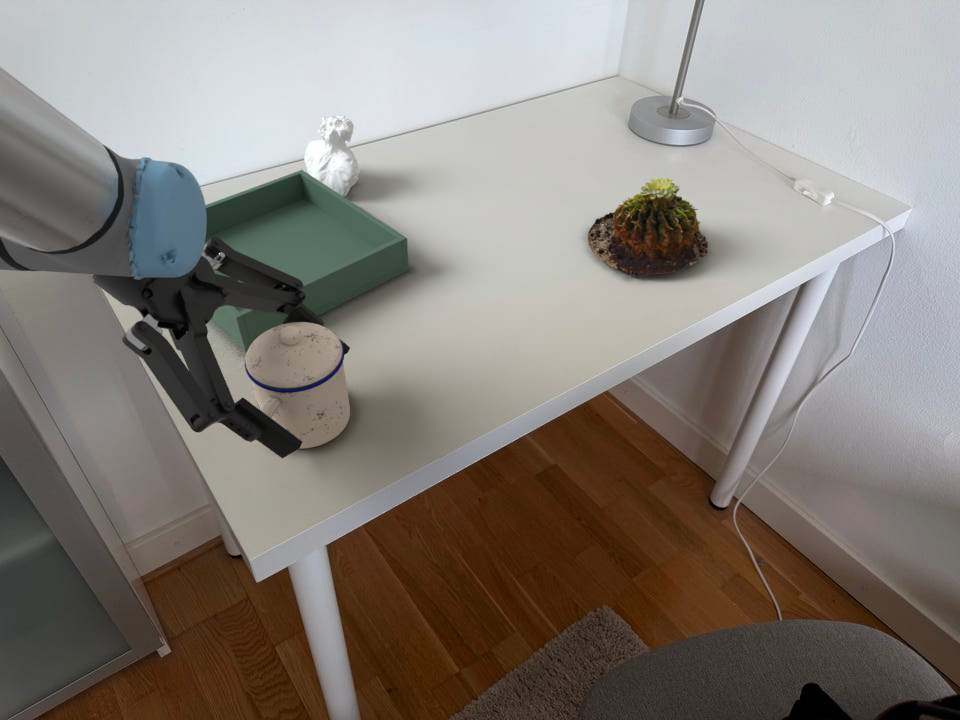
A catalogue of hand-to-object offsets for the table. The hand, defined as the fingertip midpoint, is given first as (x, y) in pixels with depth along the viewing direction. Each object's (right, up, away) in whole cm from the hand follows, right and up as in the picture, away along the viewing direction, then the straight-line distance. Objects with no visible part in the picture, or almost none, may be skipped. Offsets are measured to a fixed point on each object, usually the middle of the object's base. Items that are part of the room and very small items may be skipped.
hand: (318, 399), depth 66 cm
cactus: (+38, +20, +30) cm, 52 cm away
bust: (-7, +31, +40) cm, 51 cm away
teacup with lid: (-3, -3, +4) cm, 5 cm away
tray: (-11, +16, +24) cm, 30 cm away
